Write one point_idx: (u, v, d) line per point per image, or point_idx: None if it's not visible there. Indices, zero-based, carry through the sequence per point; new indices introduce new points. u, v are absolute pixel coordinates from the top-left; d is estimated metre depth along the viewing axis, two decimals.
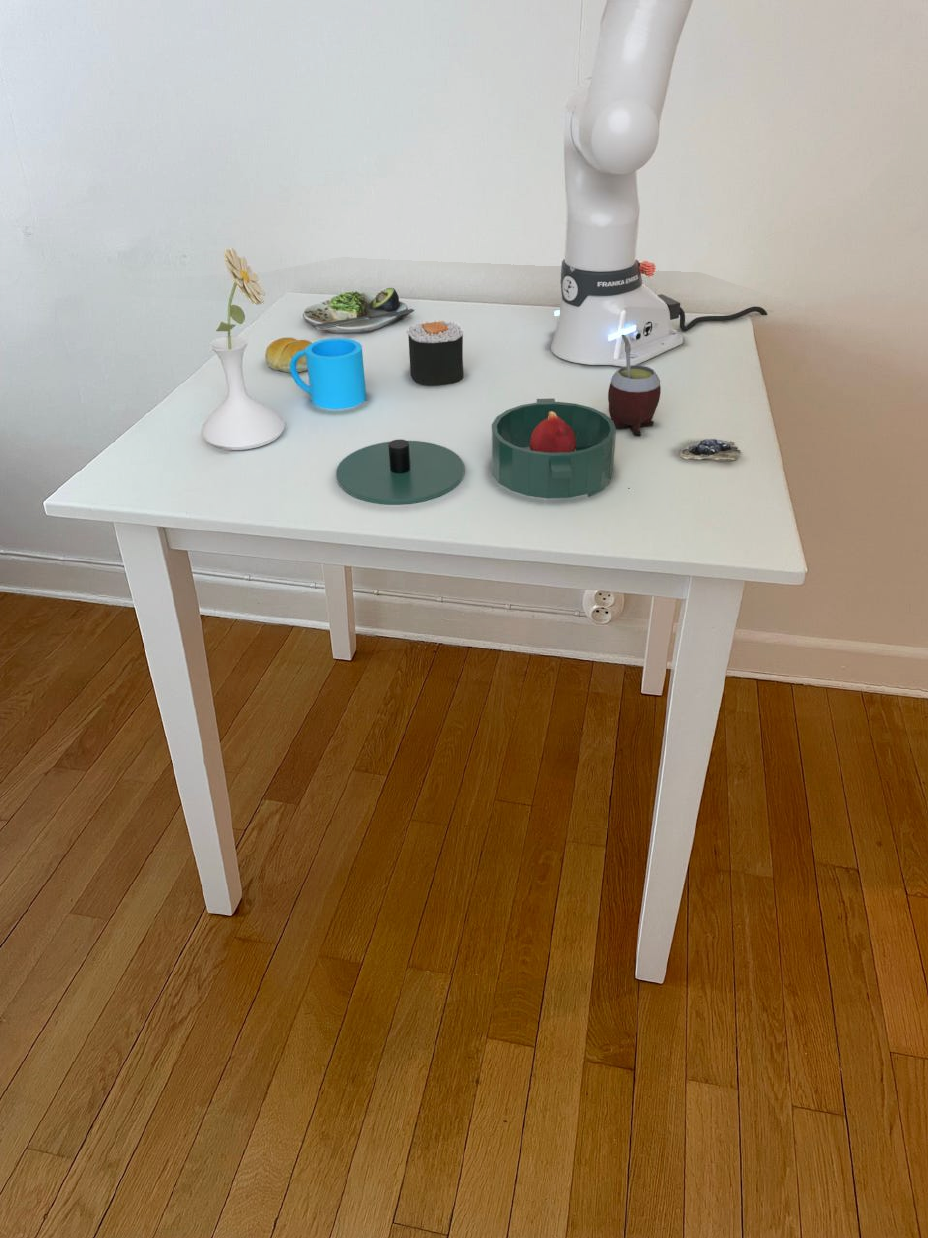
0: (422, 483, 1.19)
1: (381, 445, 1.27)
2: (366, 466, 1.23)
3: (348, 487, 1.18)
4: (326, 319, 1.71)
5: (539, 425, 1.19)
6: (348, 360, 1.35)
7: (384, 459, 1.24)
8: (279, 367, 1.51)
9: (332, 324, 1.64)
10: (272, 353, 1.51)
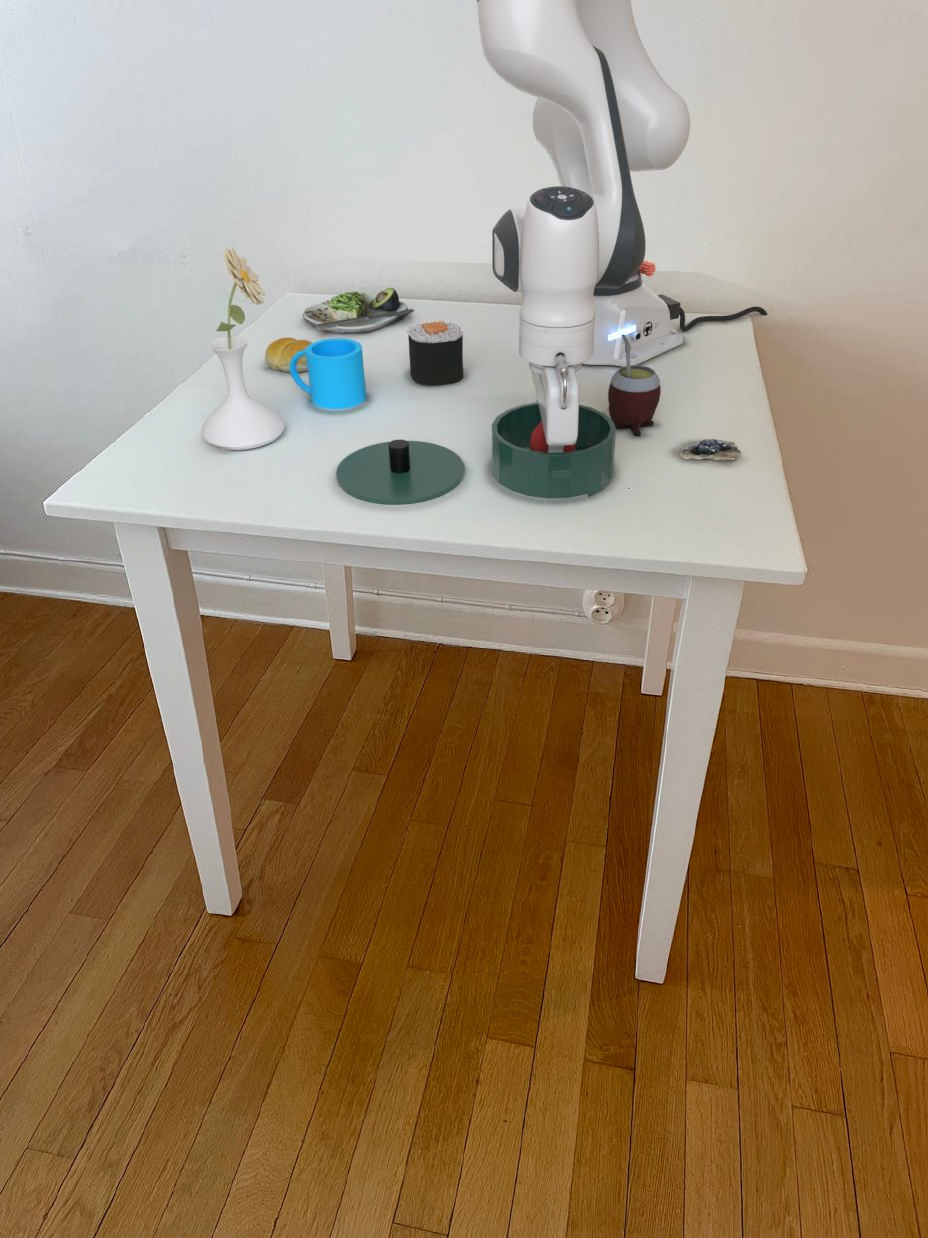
0: (422, 483, 1.19)
1: (381, 445, 1.27)
2: (366, 466, 1.23)
3: (348, 487, 1.18)
4: (326, 319, 1.71)
5: (539, 425, 1.19)
6: (348, 360, 1.35)
7: (384, 459, 1.24)
8: (279, 367, 1.51)
9: (332, 324, 1.64)
10: (272, 353, 1.51)
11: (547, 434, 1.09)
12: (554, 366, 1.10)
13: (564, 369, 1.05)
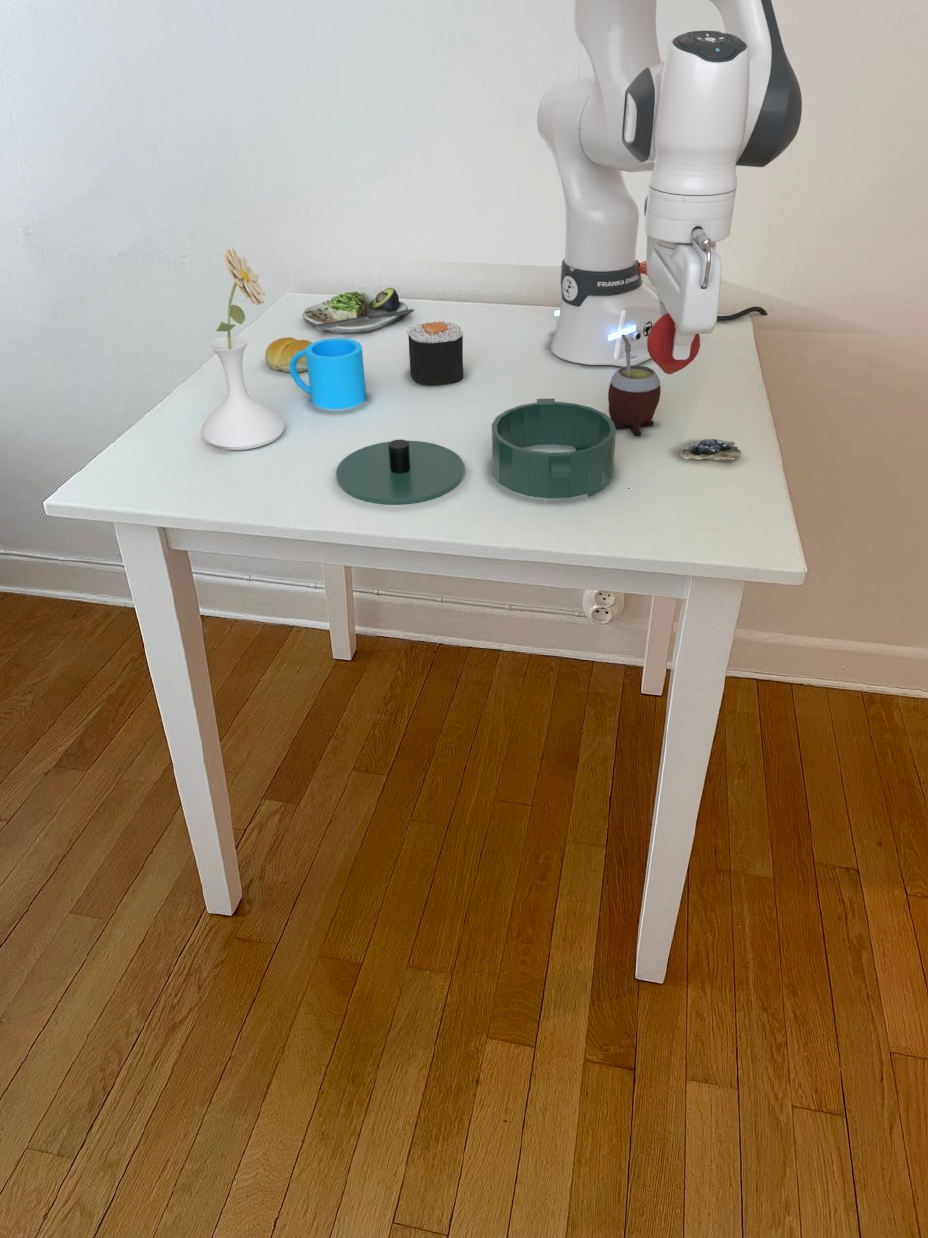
0: (422, 483, 1.19)
1: (381, 445, 1.27)
2: (366, 466, 1.23)
3: (348, 487, 1.18)
4: (326, 319, 1.71)
5: (659, 320, 1.06)
6: (348, 360, 1.35)
7: (384, 459, 1.24)
8: (279, 367, 1.51)
9: (332, 324, 1.64)
10: (272, 353, 1.51)
11: (682, 319, 0.96)
12: (689, 243, 0.96)
13: (707, 240, 0.92)
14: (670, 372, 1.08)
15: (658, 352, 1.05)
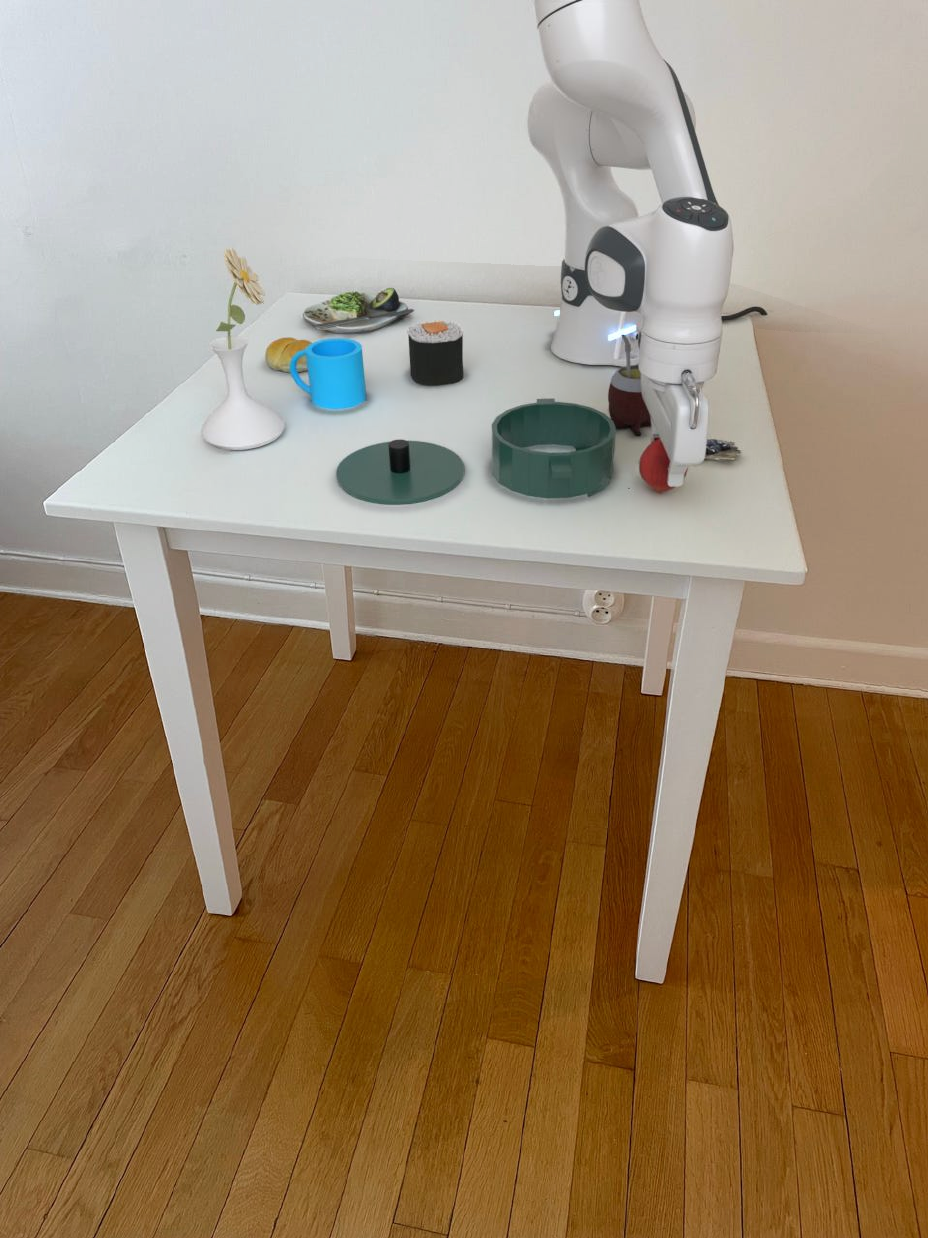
0: (422, 483, 1.19)
1: (381, 445, 1.27)
2: (366, 466, 1.23)
3: (348, 487, 1.18)
4: (326, 319, 1.71)
5: (650, 446, 1.15)
6: (348, 360, 1.35)
7: (384, 459, 1.24)
8: (279, 367, 1.51)
9: (332, 324, 1.64)
10: (272, 353, 1.51)
11: (673, 455, 1.04)
12: (679, 384, 1.05)
13: (696, 387, 1.01)
14: (661, 491, 1.17)
15: (649, 476, 1.14)
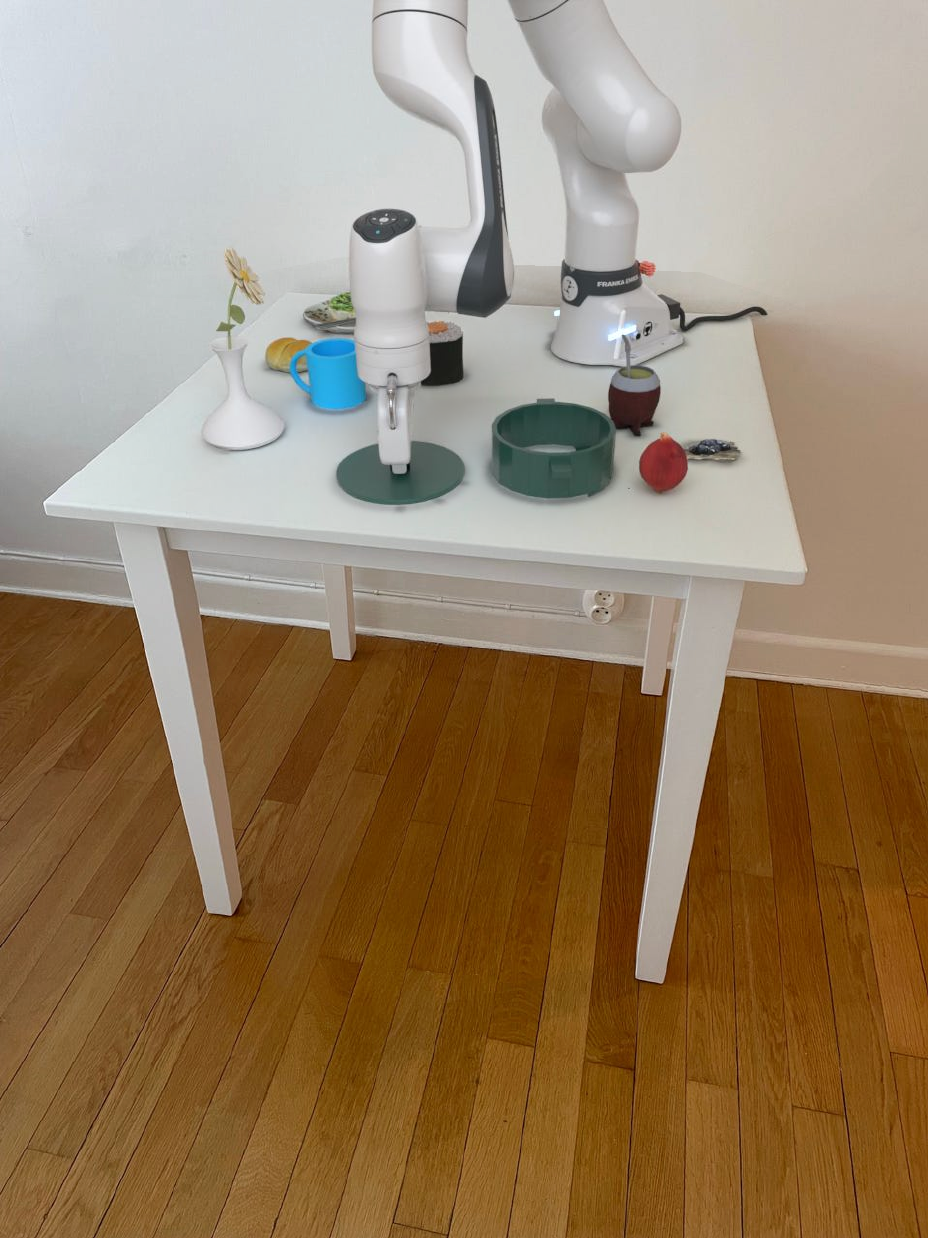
0: (422, 483, 1.19)
1: None
2: (366, 466, 1.23)
3: (348, 487, 1.18)
4: (326, 319, 1.71)
5: (650, 446, 1.15)
6: (348, 360, 1.35)
7: None
8: (279, 367, 1.51)
9: (332, 324, 1.64)
10: (272, 353, 1.51)
11: (379, 454, 1.10)
12: (387, 386, 1.11)
13: (390, 390, 1.06)
14: (661, 491, 1.17)
15: (649, 476, 1.14)
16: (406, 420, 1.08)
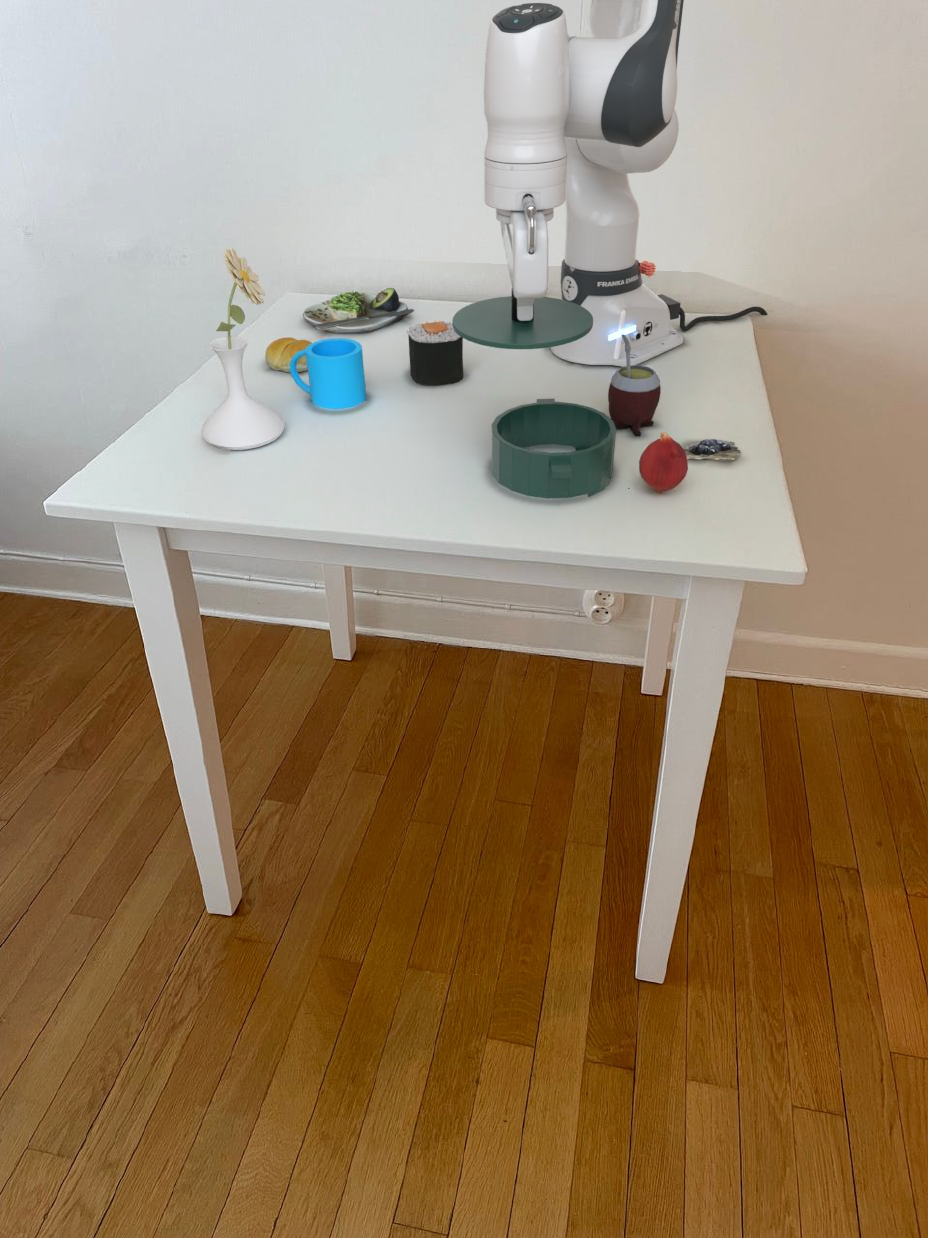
0: (550, 330, 1.08)
1: (496, 299, 1.16)
2: (484, 316, 1.12)
3: (469, 334, 1.07)
4: (326, 319, 1.71)
5: (650, 446, 1.15)
6: (348, 360, 1.35)
7: (502, 311, 1.13)
8: (279, 367, 1.51)
9: (332, 324, 1.64)
10: (272, 353, 1.51)
11: (514, 284, 0.99)
12: (522, 210, 1.00)
13: (531, 206, 0.95)
14: (661, 491, 1.17)
15: (649, 476, 1.14)
16: (546, 243, 0.97)
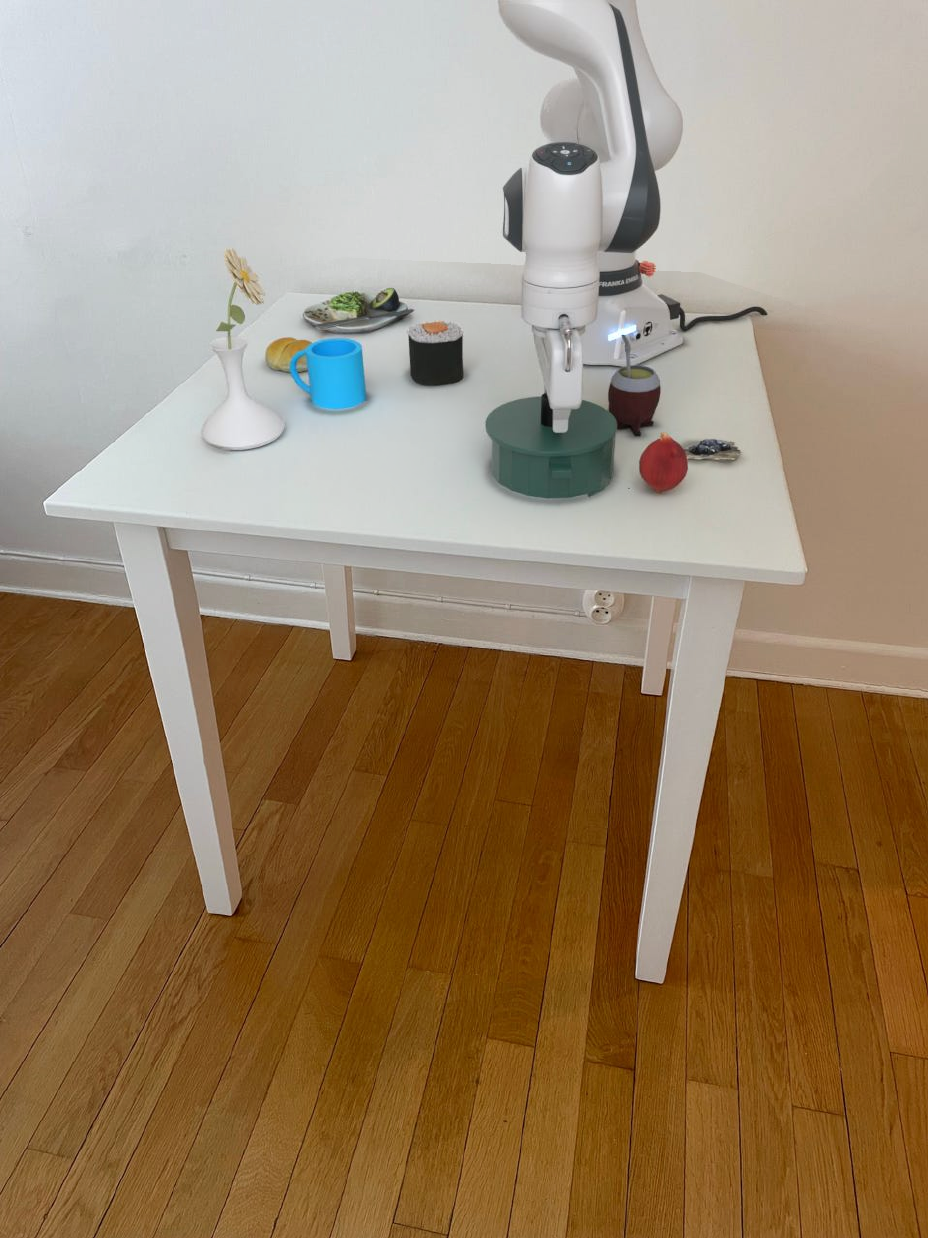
0: (577, 436, 1.15)
1: (525, 400, 1.24)
2: (515, 420, 1.19)
3: (502, 440, 1.15)
4: (326, 319, 1.71)
5: (650, 446, 1.15)
6: (348, 360, 1.35)
7: (532, 413, 1.21)
8: (279, 367, 1.51)
9: (332, 324, 1.64)
10: (272, 353, 1.51)
11: (551, 398, 1.06)
12: (557, 328, 1.07)
13: (568, 330, 1.03)
14: (661, 491, 1.17)
15: (649, 476, 1.14)
16: (582, 362, 1.04)
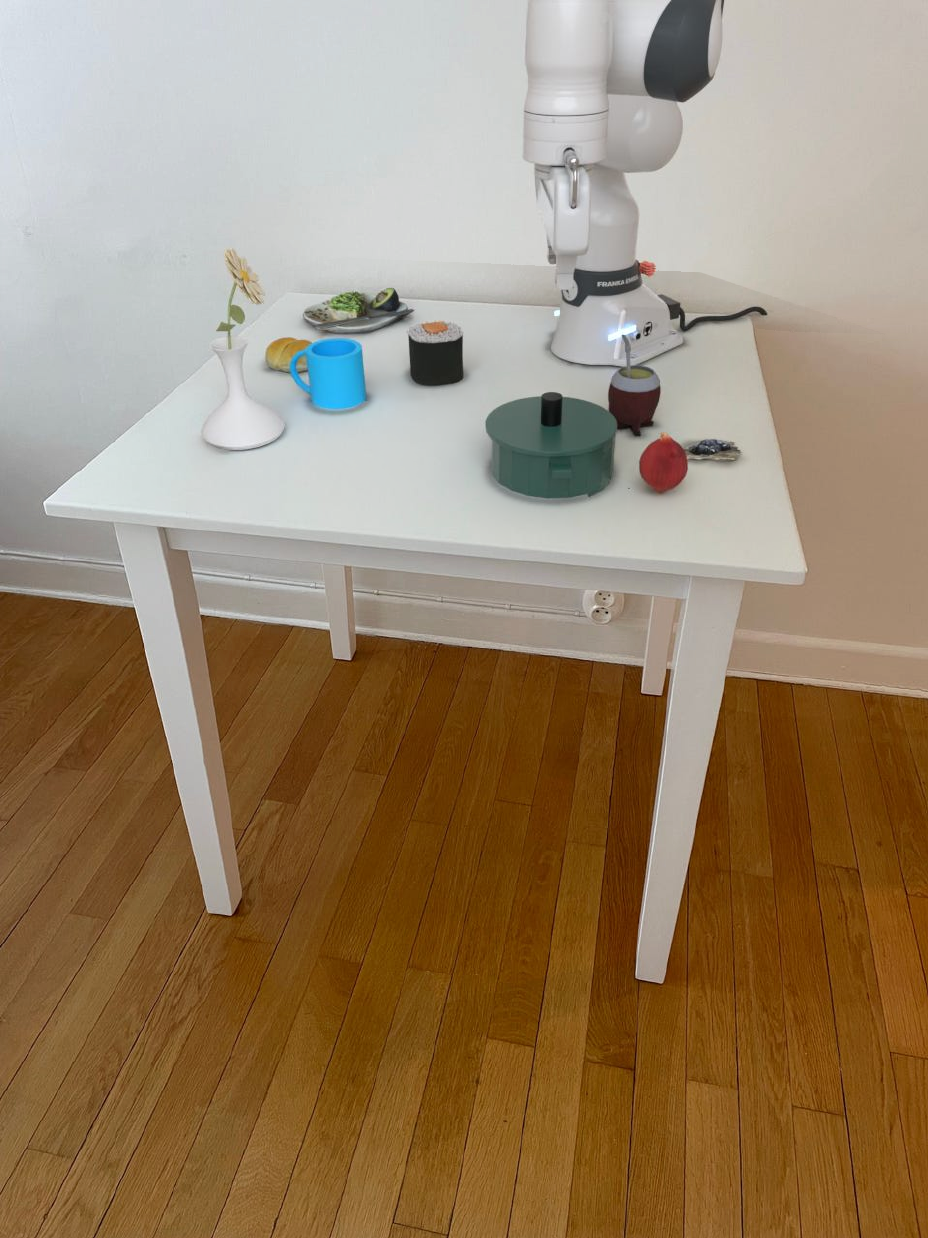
0: (577, 436, 1.15)
1: (525, 400, 1.24)
2: (515, 420, 1.19)
3: (502, 440, 1.15)
4: (326, 319, 1.71)
5: (650, 446, 1.15)
6: (348, 360, 1.35)
7: (532, 413, 1.21)
8: (279, 367, 1.51)
9: (332, 324, 1.64)
10: (272, 353, 1.51)
11: (554, 240, 0.96)
12: (562, 165, 0.97)
13: (574, 159, 0.93)
14: (661, 491, 1.17)
15: (649, 476, 1.14)
16: (589, 197, 0.94)
